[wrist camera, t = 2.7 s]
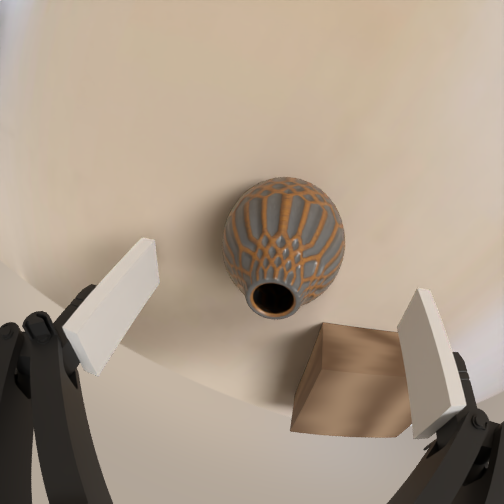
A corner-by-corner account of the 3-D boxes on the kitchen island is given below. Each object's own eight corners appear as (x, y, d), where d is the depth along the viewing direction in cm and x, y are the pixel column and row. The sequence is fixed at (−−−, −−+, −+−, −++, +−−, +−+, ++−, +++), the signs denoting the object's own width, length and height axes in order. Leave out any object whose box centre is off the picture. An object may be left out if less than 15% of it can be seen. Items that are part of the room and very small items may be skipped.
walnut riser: (294, 394, 32) (289, 431, 28) (323, 322, 25) (321, 369, 21) (393, 403, 30) (395, 437, 26) (446, 337, 23) (458, 377, 19)
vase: (240, 252, 22) (205, 341, 15) (237, 162, 19) (186, 223, 11) (333, 260, 21) (337, 356, 14) (345, 169, 18) (368, 238, 10)
